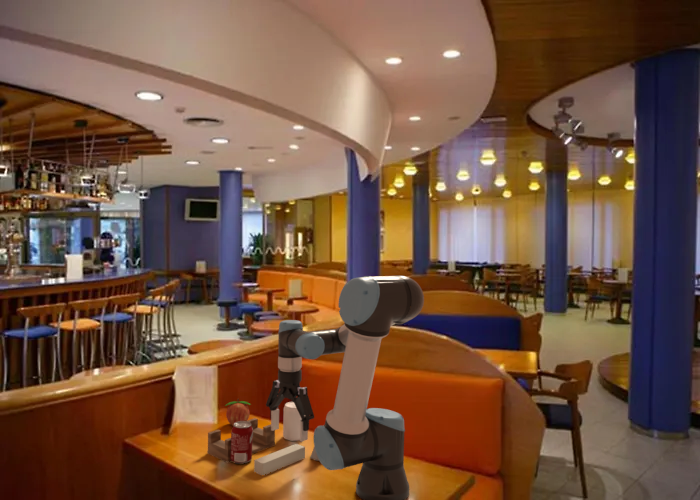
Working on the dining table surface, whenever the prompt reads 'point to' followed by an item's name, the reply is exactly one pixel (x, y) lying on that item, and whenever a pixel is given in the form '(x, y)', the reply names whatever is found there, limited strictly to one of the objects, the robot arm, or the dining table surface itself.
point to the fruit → (237, 411)
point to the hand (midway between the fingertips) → (288, 434)
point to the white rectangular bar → (279, 459)
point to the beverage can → (291, 422)
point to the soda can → (241, 442)
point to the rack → (223, 448)
